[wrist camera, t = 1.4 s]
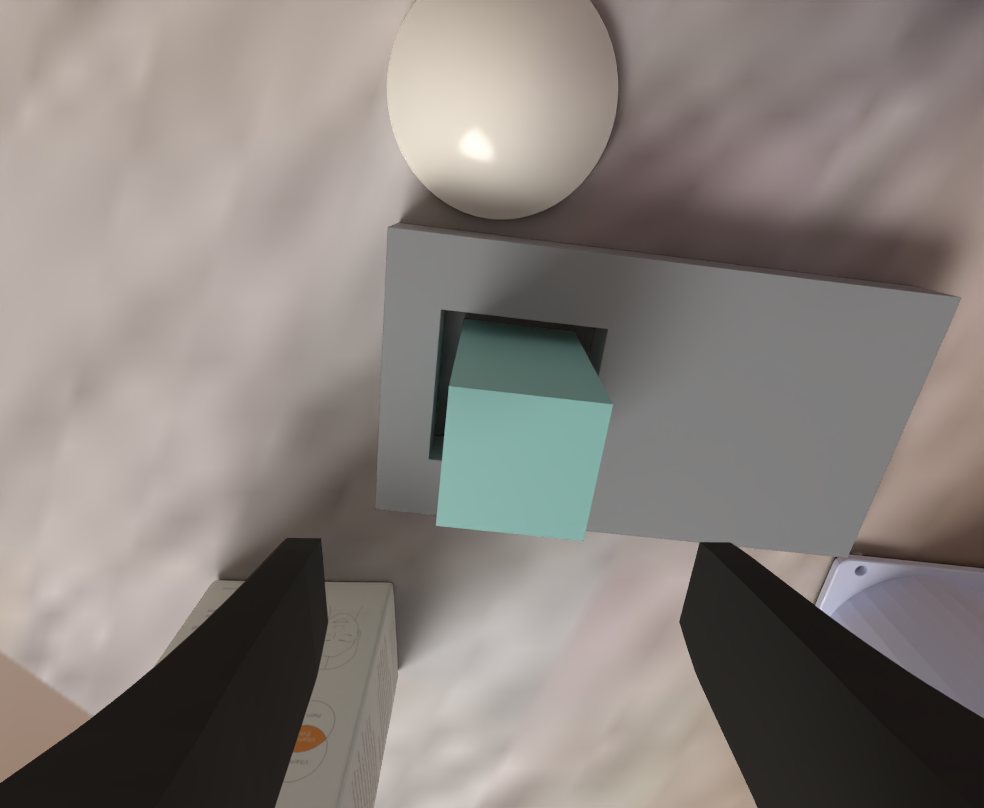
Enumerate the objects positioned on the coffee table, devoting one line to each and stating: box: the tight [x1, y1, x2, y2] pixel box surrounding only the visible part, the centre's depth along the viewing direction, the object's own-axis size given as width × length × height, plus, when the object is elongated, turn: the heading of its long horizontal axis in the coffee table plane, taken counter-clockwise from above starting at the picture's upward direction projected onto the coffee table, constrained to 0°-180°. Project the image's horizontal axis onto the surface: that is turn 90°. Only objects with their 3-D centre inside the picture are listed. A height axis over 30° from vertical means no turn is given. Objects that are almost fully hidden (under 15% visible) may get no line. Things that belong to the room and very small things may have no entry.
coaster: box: [387, 0, 618, 220], centre depth 17 cm, size 7×7×1 cm
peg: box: [436, 319, 613, 541], centre depth 17 cm, size 4×4×7 cm
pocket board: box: [375, 223, 961, 558], centre depth 20 cm, size 18×10×2 cm, turn 83°
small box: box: [154, 580, 398, 808], centre depth 20 cm, size 8×6×10 cm
